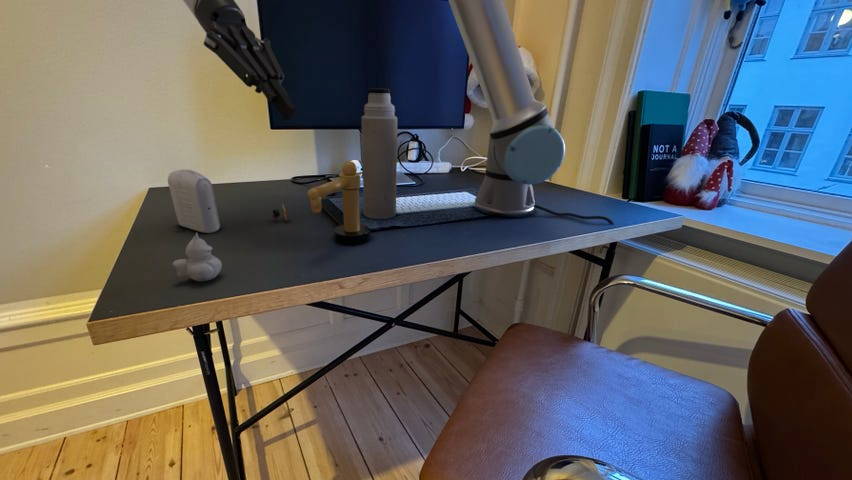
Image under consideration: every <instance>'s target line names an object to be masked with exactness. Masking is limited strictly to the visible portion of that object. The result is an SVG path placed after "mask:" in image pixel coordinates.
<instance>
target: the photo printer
mask: <svg viewBox="0 0 852 480" xmlns="http://www.w3.org/2000/svg"><path fill="white" fill-rule="evenodd" d="M167 184H168V187H169V192H170V196H171V200H172V204H173V207H174V211H175V212H174V213H175V216H176V220H177V223H178V225H179V226H181V227H183V228H187V229H190V230H193V231H196V232H200V233H205V234H212V233H216V232H217V231H218V230H220V228H221V223H220V217H219V213H218V212H219V211H218V207H217V203H216V198H215V192H214V188H213V184H212V182H211V180H210V179H209V178H208V177H206V176H205V175H204V174H201V173H200V172H198V171H195V170H192V169H185V168H184V169H176V170H173V171H171V172H170V173H169V174H168V176H167Z"/></svg>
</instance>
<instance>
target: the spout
mask: <svg viewBox="0 0 852 480" xmlns="http://www.w3.org/2000/svg"><path fill="white" fill-rule="evenodd" d="M341 170H342V172H340V173H339V174H338V178H337V179H334V180H331V181H329V182H326V183H323V184H320V185H317V186H314V187H312V188H310V189H309V190H308V192H307V197H308V198H309V202H310V210H311V212H312V213H314V214H319V213H320V212H322V209H323V206H322V205H323V204H322V198H324V197H325V198H326V197H328V196H329V195H332V194H335V193H337V192H340V191H342V189H357V188H359V189H360V188H361V184H362V183H361V173H359V172H358V167H357V165H356V163H355V162H354V161H351V160H347V161H345V162H344V163H343V164H342V167H341Z"/></svg>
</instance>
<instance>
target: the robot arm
mask: <svg viewBox="0 0 852 480" xmlns="http://www.w3.org/2000/svg"><path fill="white" fill-rule="evenodd" d="M447 1H448V4H449V6H450V10H451V12H452V14H453V17H454V20H455V22H456V25H457V28H458V30H459V33H460V35H461V38H462V41H463V44H464V46H465V49H466V53H467V54H468V57H469V60H470V62H471V65H472V68H473V71H474V73H475V76H476V78H477V82H478V84H479V86H480V87H479V88H480V89H481V92H482V94H483V97H484V100H485V103H486V106H487V108H488V111H489V113H490V117H491V123H490V126H489V129H488V133H489V139H488V147H487V155H486V163H485V164H486V165H485V173H484V178H483V180H482V183H481V185H480V187H479V189H478V191H477V192H476V194H475V199H474V205H473V207H474V208H475V210H477V211H478V212H480V213H483V214H486V215H490V216H495V217H502V218H522V217H528V216H531V215H533V214H534V212H535V209H538V210H541V211H544V212H546V213H548V214H550V215H553V216H556V217H563V216H564V217H565V216H567V217H573V218H576V219H580V220H603V221H606V222H607V223H608V224H610V225H613V226H614V225H615V223H614V222H613V220H612V219H610V218H609V217H607V216H604V215H582V214H581V215H580V214H577V213H575V212H574V213H573V212H556V211H553V210H551V209H549V208H546V207H544V206H542V205H538V204H536V203H535V196H534V195H535V194H534V188H533V185H537V184H541V183H543V182H545V181H547V180H549V179H550V178H551V177H552V176H554V175H555V174H556V173H557V171H559V169H560V167H561V165H562V164H563V161H564V160H565V159H564V158H565V154H566V144H565V141H564V138H563V137H562V135H561V133H560V132H559V131H558V129H556V128H554V127H553V124H552V121H551V118H550V113H549V111H548V107H547V105H546V103H544V102H541V101H538V100H537V99H535V96H534V92H533V90H532V86H531V84H530V81H529V77H528V74H527V71H526V67H525V65H524V61H523V59H522V55H521V52H520V49H519V46H518V43H517V40H516V37H515V33H514V29H513V27H512V24H511V21H510V17H509V15H508V11H507V8H506V5H505V2H504V0H447ZM182 2H184V5H186V7H187V8H188V9H189V11H190V12H191V14H192V15H193V16H194V17H195V19H196V21H197V22H198V24H199V26H201V28H202V29H203V31H204V32H205V33H206V34H205V37H204V41H203V46H205V48H206V49H208V50H210V51H211V52H212V53H214V54H215V55H216V56H217V57H218V58H219V59H220V60H221V62H223V63H224V64H225V65H226V66H227V67H228V68H229V69H230V70H231V72H233V73H234V74H235V75H236V76H237V77H238V78H239V80H240V81H242V82H243V84H245V86H246V87H248V88H251V87H253V86H254V87H255V89H254V92H255V93H257V94H261V93H262V94H263V96H264V97H265V98H266V100H267V101H269V103H271V105H273V107H274V108H275V110H276V111H277V112H278V114H279V115H280V116H281V118H282V119H283V120H284V121H290V120H292V118H293V116H294V114H295V113H296V111H297V109H298V108H297V107H296V105H295V104H294V103H293V101H292V100H291V98H290V97H289V94H288V92H287V91H286V89H285V88H284V87H283V85H282V82H283V81H284V79H285V77H286V76H285V73H284V72H283V69H282V68H281V65H280V63H279V62H278V59H277V58H276V56H275V54H274V51H273V50H272V46H271V45H272V44H271V41H270V39H268V38H267V37H264V38H263V40H261V39H260V38H259V37H256V34H255V33H254V31H253V30H252V29H250V27H249V26H248V25H247V22H246V18H245V14H244V12H243V11H242V9H241V8H240V6H239V5H238V3H237V2H236V1H235V0H182Z"/></svg>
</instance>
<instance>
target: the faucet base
mask: <svg viewBox="0 0 852 480" xmlns="http://www.w3.org/2000/svg"><path fill="white" fill-rule="evenodd" d="M359 189H360V188H357V189H342V190H341V195H342V196H341V197H342V213H343V215H342V216H343V224H341V225H338V226H336V227H335V228H334V229H333V230H334V231H333V234H334V241H335V242H336V243H337V244H340V245H344V246H358V245H362V244H366V243H367V242H369V241H370V239H371V229H370V227H368V226H367V225H365V224H361V221H360V220H361V219H360V217H361V216H360V191H359Z"/></svg>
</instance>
